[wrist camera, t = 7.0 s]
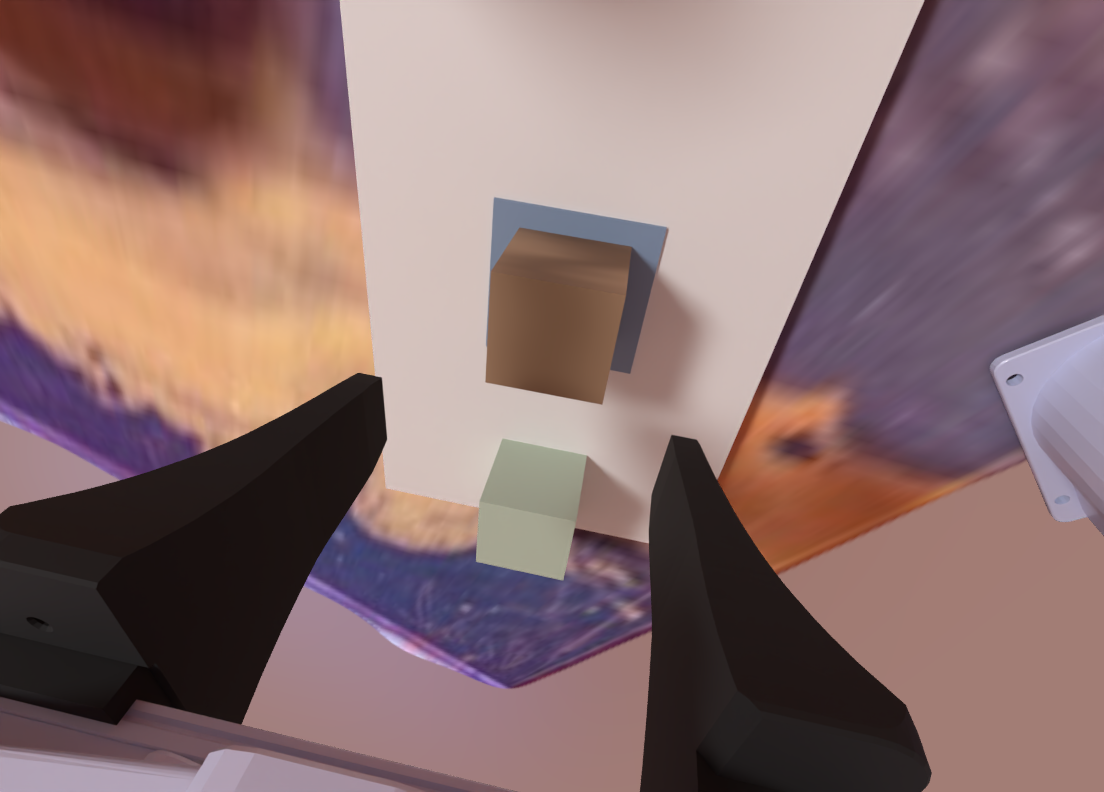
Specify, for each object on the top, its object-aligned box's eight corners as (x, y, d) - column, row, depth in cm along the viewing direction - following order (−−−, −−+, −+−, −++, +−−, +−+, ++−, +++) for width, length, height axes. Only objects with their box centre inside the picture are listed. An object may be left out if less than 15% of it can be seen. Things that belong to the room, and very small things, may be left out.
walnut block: (631, 246, 19) (625, 295, 15) (611, 344, 21) (602, 404, 18) (519, 227, 19) (490, 271, 16) (511, 326, 21) (485, 382, 18)
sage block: (587, 455, 25) (576, 521, 21) (574, 513, 27) (562, 580, 24) (502, 438, 25) (479, 501, 22) (497, 497, 27) (475, 561, 24)
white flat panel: (983, -167, 13) (1003, -178, 12) (685, 538, 28) (686, 553, 27) (331, -249, 13) (312, -264, 13) (392, 477, 29) (385, 489, 28)
